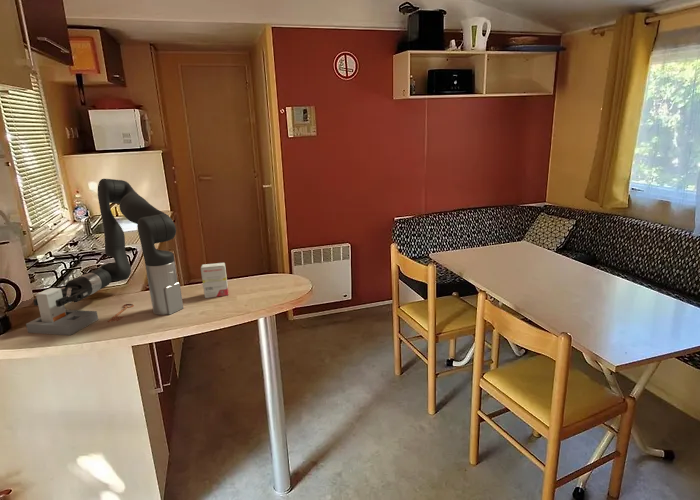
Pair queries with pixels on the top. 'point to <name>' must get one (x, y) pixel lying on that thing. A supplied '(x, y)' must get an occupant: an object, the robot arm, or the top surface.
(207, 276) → the ink box
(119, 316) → the key
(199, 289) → the top surface
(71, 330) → the holder
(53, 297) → the skincare box
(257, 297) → the top surface
